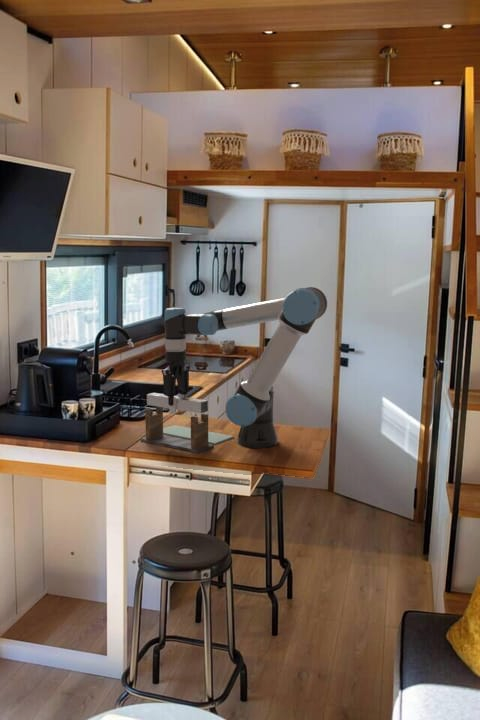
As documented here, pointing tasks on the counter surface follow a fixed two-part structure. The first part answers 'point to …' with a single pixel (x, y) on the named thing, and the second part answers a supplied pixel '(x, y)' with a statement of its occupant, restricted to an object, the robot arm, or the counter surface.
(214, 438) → the sage mat
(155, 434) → the hook rack
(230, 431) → the counter surface
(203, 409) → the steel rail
